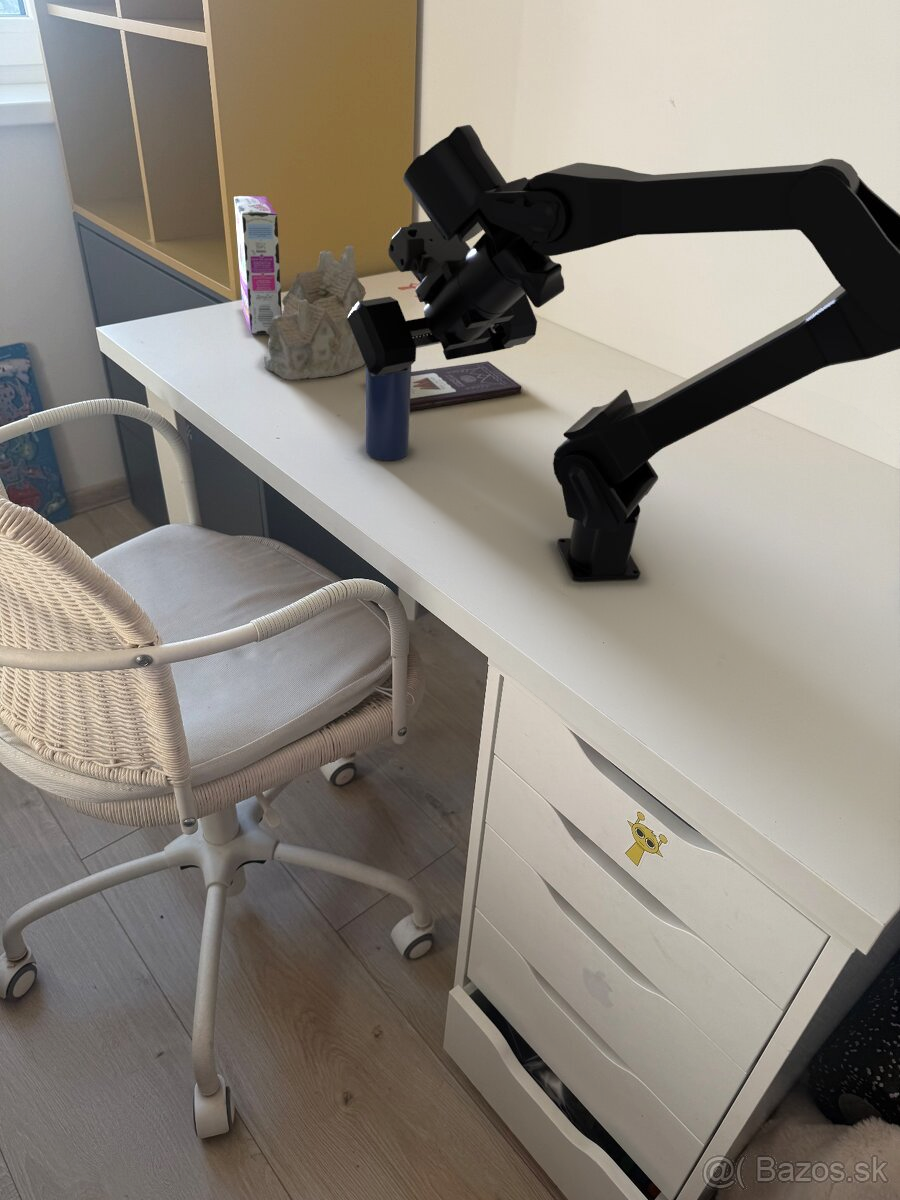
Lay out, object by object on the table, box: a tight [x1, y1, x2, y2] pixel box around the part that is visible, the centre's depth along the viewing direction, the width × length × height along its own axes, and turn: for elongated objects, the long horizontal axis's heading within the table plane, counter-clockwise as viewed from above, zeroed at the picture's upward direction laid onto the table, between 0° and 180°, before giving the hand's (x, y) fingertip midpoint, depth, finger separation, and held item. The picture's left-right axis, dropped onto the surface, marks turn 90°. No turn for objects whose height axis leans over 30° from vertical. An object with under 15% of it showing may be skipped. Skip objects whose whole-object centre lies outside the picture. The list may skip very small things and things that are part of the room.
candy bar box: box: [233, 195, 283, 335], centre depth 119 cm, size 11×5×16 cm, turn 17°
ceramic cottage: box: [263, 245, 367, 381], centre depth 111 cm, size 16×16×15 cm
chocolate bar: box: [410, 360, 522, 411], centre depth 108 cm, size 9×1×18 cm
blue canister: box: [365, 365, 412, 462], centre depth 90 cm, size 5×5×13 cm
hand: (409, 363), depth 84 cm, fingers open, 9 cm apart
